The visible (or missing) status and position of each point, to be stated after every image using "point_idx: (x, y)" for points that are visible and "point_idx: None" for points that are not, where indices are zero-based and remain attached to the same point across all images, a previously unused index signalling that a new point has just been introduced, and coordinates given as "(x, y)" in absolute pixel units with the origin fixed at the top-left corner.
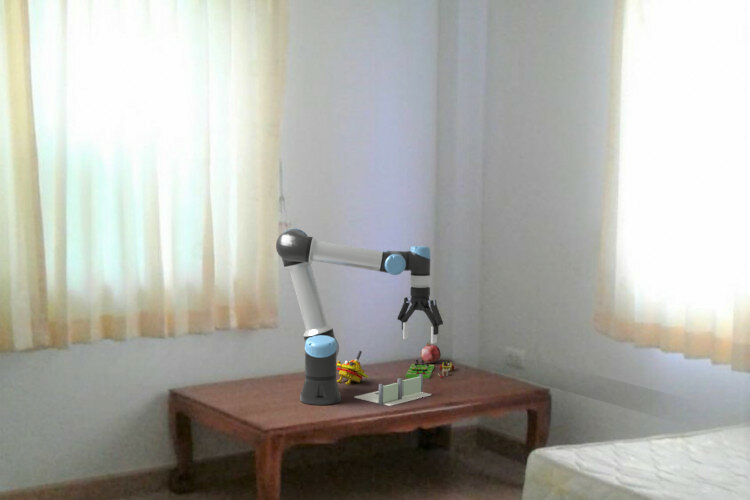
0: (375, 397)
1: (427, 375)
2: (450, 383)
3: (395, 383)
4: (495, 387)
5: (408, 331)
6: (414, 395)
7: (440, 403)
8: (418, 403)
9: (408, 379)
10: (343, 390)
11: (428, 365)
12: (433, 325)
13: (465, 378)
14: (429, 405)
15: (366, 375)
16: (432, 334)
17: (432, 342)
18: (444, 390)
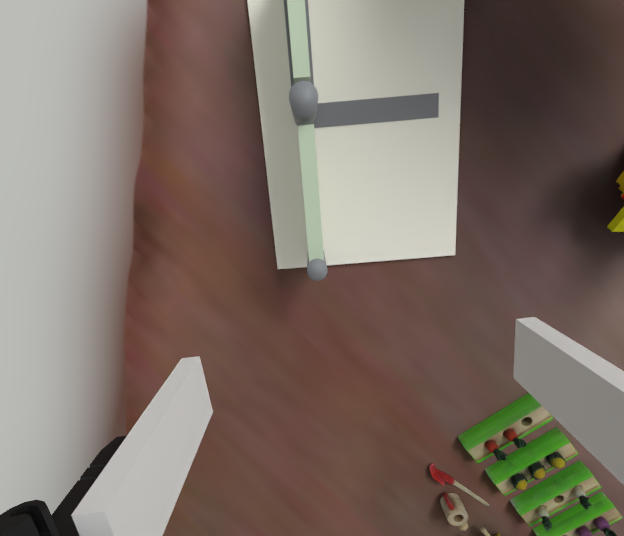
0: (387, 43)
1: (469, 442)
2: (359, 437)
3: (301, 64)
4: (226, 493)
5: (562, 420)
6: (303, 204)
7: (161, 200)
8: (210, 132)
9: (309, 173)
10: (591, 40)
11: (543, 523)
12: (3, 523)
13: (374, 512)
14: (160, 142)
15: (620, 219)
16: (143, 416)
17: (179, 363)
18: (300, 354)
